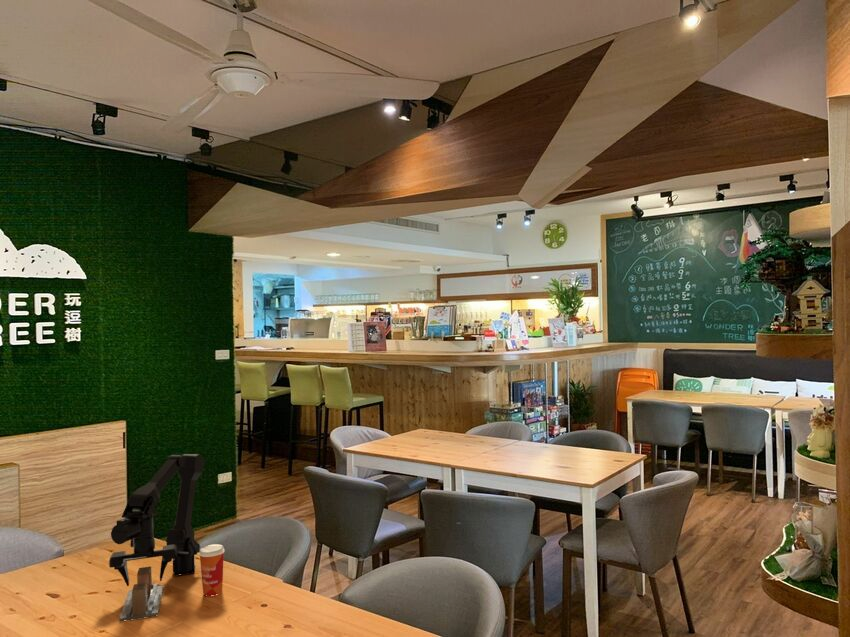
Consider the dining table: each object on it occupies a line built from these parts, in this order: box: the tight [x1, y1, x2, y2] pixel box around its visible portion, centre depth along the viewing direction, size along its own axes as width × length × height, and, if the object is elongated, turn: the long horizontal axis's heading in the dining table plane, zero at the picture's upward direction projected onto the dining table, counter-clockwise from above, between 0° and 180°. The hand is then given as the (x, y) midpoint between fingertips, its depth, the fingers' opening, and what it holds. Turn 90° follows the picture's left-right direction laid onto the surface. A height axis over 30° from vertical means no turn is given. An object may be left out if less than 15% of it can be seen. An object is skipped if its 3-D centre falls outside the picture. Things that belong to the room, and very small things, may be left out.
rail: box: [119, 582, 164, 622], centre depth 185 cm, size 10×20×8 cm, turn 19°
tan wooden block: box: [136, 566, 153, 595], centre depth 190 cm, size 4×6×7 cm, turn 19°
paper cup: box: [198, 543, 226, 596], centre depth 192 cm, size 8×8×14 cm
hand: (144, 583), depth 191 cm, fingers open, 9 cm apart
